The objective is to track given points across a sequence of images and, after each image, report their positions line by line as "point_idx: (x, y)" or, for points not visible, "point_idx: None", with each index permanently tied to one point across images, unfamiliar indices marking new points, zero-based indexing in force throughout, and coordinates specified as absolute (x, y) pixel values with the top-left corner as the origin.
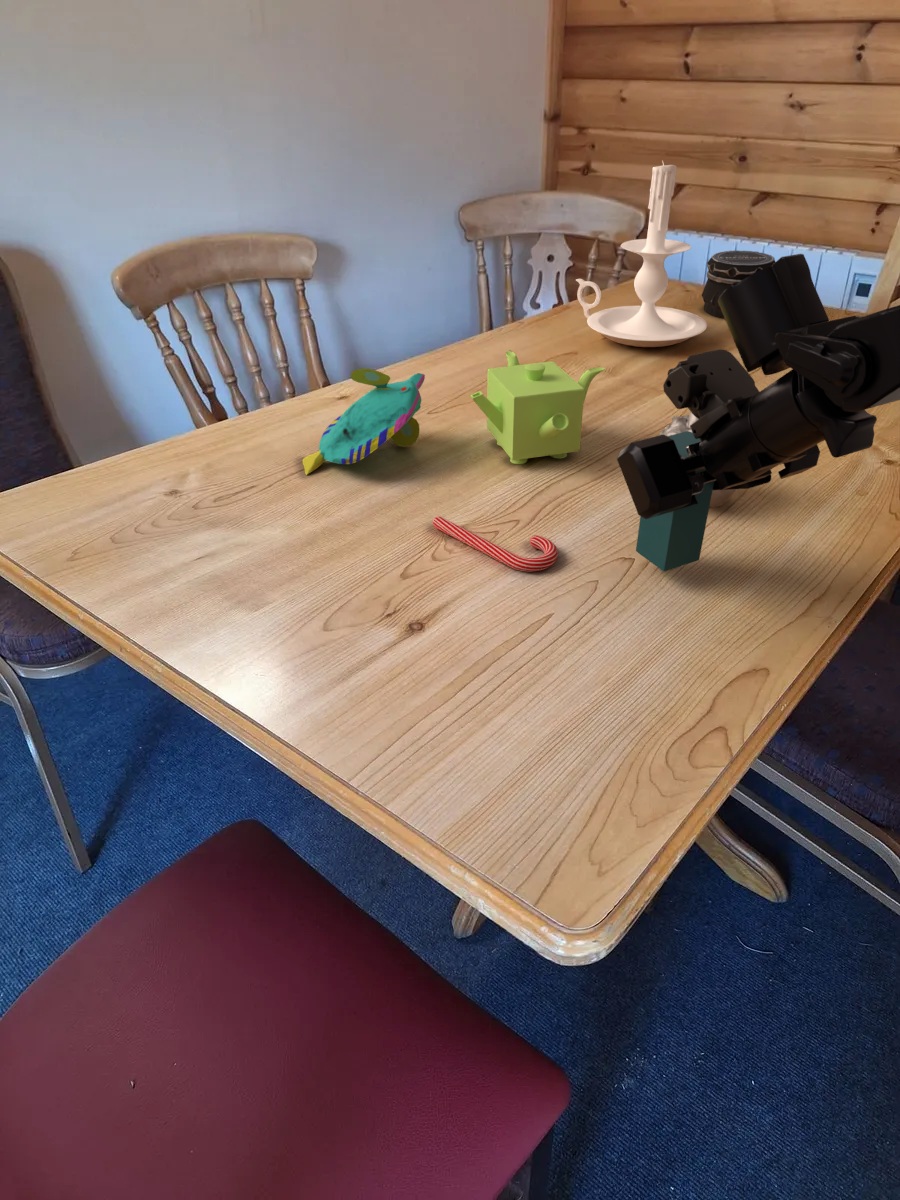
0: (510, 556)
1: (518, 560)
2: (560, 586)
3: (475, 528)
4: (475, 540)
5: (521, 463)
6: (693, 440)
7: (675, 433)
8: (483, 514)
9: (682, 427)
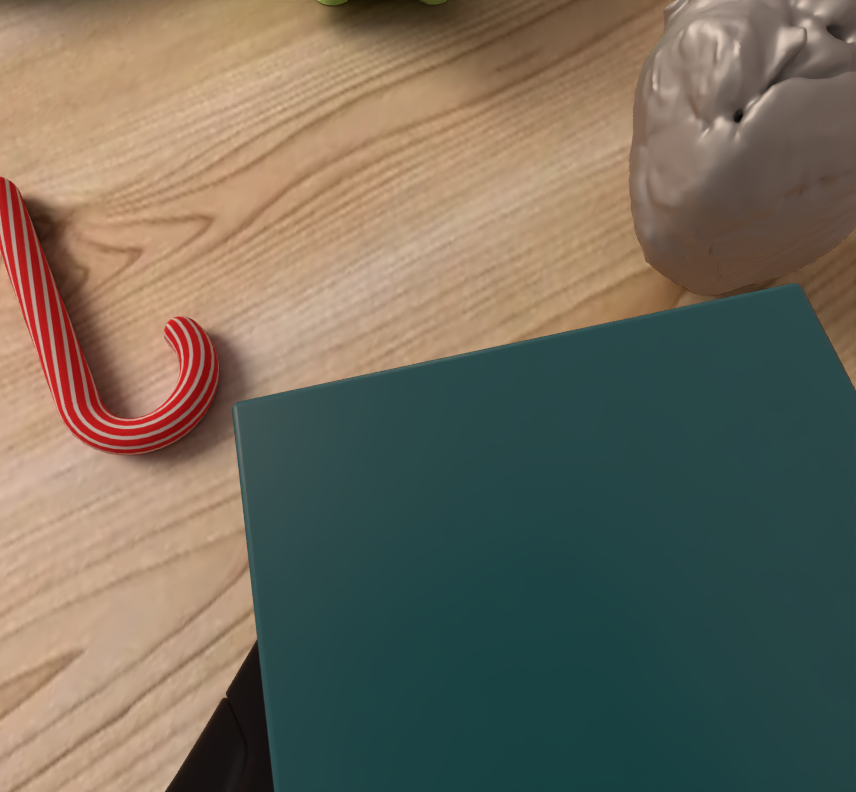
0: (59, 401)
1: (69, 425)
2: (164, 529)
3: (96, 225)
4: (20, 300)
5: (332, 4)
6: (791, 579)
7: (721, 34)
8: (145, 175)
9: (768, 3)
